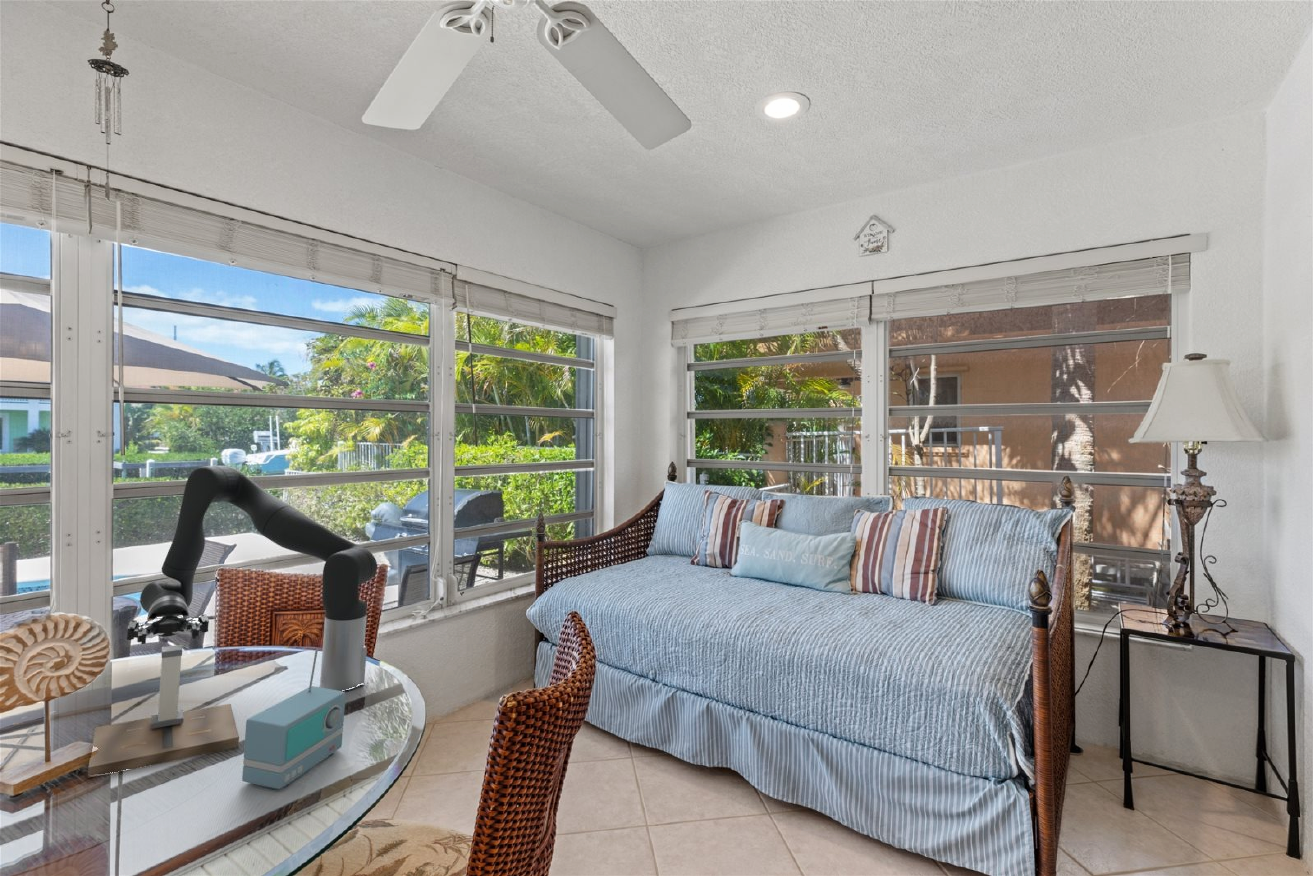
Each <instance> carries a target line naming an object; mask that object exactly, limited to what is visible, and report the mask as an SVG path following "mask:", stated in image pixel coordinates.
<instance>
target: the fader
mask: <svg viewBox="0 0 1313 876" xmlns="http://www.w3.org/2000/svg"><path fill="white" fill-rule="evenodd" d="M182 656H183V644H176V645H167V646H162V647H161V664H160V665H161V666H160V667H161V668H160V677H159V678H160V680H159V681H160V682H159V694H158V695H159V696H158V711H157V714H153V715H151V716H150V718H151V729H153V728H159V727H164V726H169V725H175V724H180V723H183V712H184V711H183V710H179V709H178V707H179V693H180V681H181V679H180V678H181V666H182Z"/></svg>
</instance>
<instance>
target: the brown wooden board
mask: <svg viewBox="0 0 1313 876" xmlns="http://www.w3.org/2000/svg"><path fill="white" fill-rule="evenodd" d="M94 728H95V729H94V733H93V737H92V738H93V739H92V745H91V747H92V746H94V747H97V748H98V749H99V750H98V751H99V752H98V753H97V754H96V755H95V756H93V757H91V758H90V757H89V761H88V767H87V768H88V769H87V777H88V776H89V775H94V774H105V773H110V772H111V773H112V772H113V774H115V773H114V772H118V771H121V770H126V769H132V770H136V768H137V769H141V768H140V767H142V768H145V766H146V767H150V765H151V766H155V765H161V764H165V763H168V762H175V761H179V760H182V759H183V760H184V759H188V758H193V757H197V756H202V755H208V754H213V753H217V752H222V751H225V750H226V751H227V750H230V749H236V748H239V744H240V743H239V742H240V736H239V730H238V727H237V723H236V720H235V715H234V711H233V708H232V704H231V703H227V704H222V705H216V706H210V707H204V708H199V709H198V708H197V709H193V710H186V711H183V723H180V724H175V725H169V726H164V727H159V728H153V729H151V717H147V718H141V719H136V720H130V721H123V722H118V723H112V724H106V725H100V726H95V727H94ZM174 760H175V761H174ZM118 773H119V772H118Z"/></svg>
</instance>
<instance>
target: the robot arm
mask: <svg viewBox="0 0 1313 876" xmlns="http://www.w3.org/2000/svg"><path fill="white" fill-rule="evenodd" d="M183 491H184V492H183V496H182V500H181V504H180V509H179V514H178V521H177V525H176V529H175V533H174V537H173V540H172V542H171V545H170V547H169V549H168V552H167V554H166V557H165V559H164V561H163V564H162V566H161V573H162V574H163V575H164V576H166V577H168V578H169V579H170V578H171V579H173V580H175V581H177V582H179V583H175V582H170V581H168V582H166V581H162V580H161V581H159V580H156V581H151V582H150V583H148V584H146V585H145V587H143V589H142V591H141V593H140V597H139V598H140V599H139V600H140V606H141V608H142V609H143V610H144V612H146V613H147V619H146V621H145V622H142V623H140V622H139V621H138V620H135V619H133V620H130V621H129V623H128V625H127V629H126V632H127V633H126V640H127V641H133V640H134V639H135V638H136V642H137V643H140V645H146V643H147V639H152V638H155V637H157V636H158V637H161V638H166V637H172V636H175V635H177V634H179V635H180V634H181V635H185V636H186V635H188V634H190V636H191V639H193V640H195V639H196V637H199V636H200V633H201V632H202V633H207V632H209V625H210V624H209V623H210V620H209V617H208V616H207V614H205V613H202V614H199V616H197V618H196V617H195V618H193V617H191V616H190V614H189V607H190V605H191V604H192V601H193V596H194V595H193V593H194V592H193V591H194V578H195V574H196V571H197V568H198V566H199V563H200V562H201V559H202V557H203V553H204V550H205V545H206V542H205V541H206V540H205V539H206V538H205V533H204V519H205V515H206V513H207V511H208V509H209V508H210V506H211V504H212V503H221V502H222V503H223V502H224V503H225V502H226V503H229V504H232V505H233V506H236V507H237V508H239V509H241V510H242V511H244V512H245V513H246V514H247V515H248V516H249V517H250V519H251V521H252V523H253V526H254V527H255V529H256V531H257V532H258V533H259V534H260V535H262V536H263V537H265V538H266V539H268V540H270V542H273V543H274V544H276V545H278V546H279V547H281V548H284V549H286V550H289V551H293V552H295V553H300V554H303V555H308V556H309V557H310V556H311V557H314V558H318V559H320V560H321V561H323V562H325V563H324V566H323V570H322V578H321V579H322V580H321V582H322V583H321V584H322V585H321V590H322V593H321V599H322V600H321V602H322V606H323V608H324V625H323V626H324V627H323V638H322V639H323V640H322V653H321V665H320V679H319V687H320V688H326V689H332V690H337V691H342V690H346V689H349V688H352V687H356V686H357V685H358V684H361V683H364V684H365V679H366V677H365V676H366V667H367V666H366V665H367V652H368V647H367V646H366V645H365V642H366V630H367V629H366V628H367V627H366V626H367V617H368V615H367V614H368V604H367V602H366V601H364V600H362V599H359V598H360V597H359V591H360V590H359V589H360V588H359V587H360V585H363V584H365V583H367V582H369V581H370V580H372V579H373V578H374V577H375V575H376V574H377V571H378V563H377V560H376V558H375V556H374V554H373V553H372V552H370V550H368V549H367V548H365V547H363V546H362V545H358V544H356V543H355V542H352V541H350V540H348V539H346V538H344V537H342V536H340V535H339V534H336V533H334V532H333V531H331V530H330V529H328V528H326V527H325V526H323V525H322V524H320V523H318V522H317V521H315V520H314V519H312V518H310V517H308V516H307V515H306V514H304V513H303V512H302V511H300V510H298V509H296V508H295V507H294V506H292V505H290V504H288V503H286V502H284V501H283V500H282V499H279V498H278V496H275V495H273V494H272V493H270V492H268V491H266V490H265V489H263V488H262V487H261V486H259V485H258V484H257V483H256V482H254V480H252V479H251V478H250V477H248V476H247V475H245V474H244V473H243V472H242V471H241V470H239V469H237V468H236V467H233V466H230V465H206V466H204V465H203V466H200V467H197V468H195V469H194V470H193V471H191V472H190V474H189V476H188V478H187V479H186V483H185V487H184V490H183Z"/></svg>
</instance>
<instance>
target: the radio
mask: <svg viewBox="0 0 1313 876" xmlns="http://www.w3.org/2000/svg"><path fill="white" fill-rule="evenodd" d="M318 651H319V648H317V649H316V650H314V652H315V653H314V657H313V658H314V659H313V664H312V669H311V675H310V680H309V687H307V688H305V689H303V690H301V691H299V692H297V693H295V694H293V695H292V696H289V697H288V698H285V699H283V700H282V701H279V702H277V703H276V704H274V705H272V706H270V707H268V708H266V709H264V710H263V711H260V712H257V714H255V715H253V716H250V717H249V718H247V719H246V721H245V735H244V748H243V761H242V762H243V765H242V777H241V779H242V780H241V781H242V782H244V783H248V784H254V785H257V786H258V785H259V786H263V787H266V788H271V789H276V790H281V789H284V788H286V787H288V786H289V784H290V783H292V782H293V781H294V780H296V779H297V778H299V777H300V776H302V775H303V774H305V773H306V772H307V771H309V770H310V769H312V768H314V766H316V765H318V764H319V763H321V762H322V761H324V760H325V759H326V758H328V757H332V755H334V753H335V752H336V751H338V750H340V749H341V748H342V746H343V732H344V721H345V707H346V691H344V692H343V691H337V690H332V689H326V688H320V686H314V685H313V679H314V676H315V675H314V674H315V668H316V662H317V657H318Z"/></svg>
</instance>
